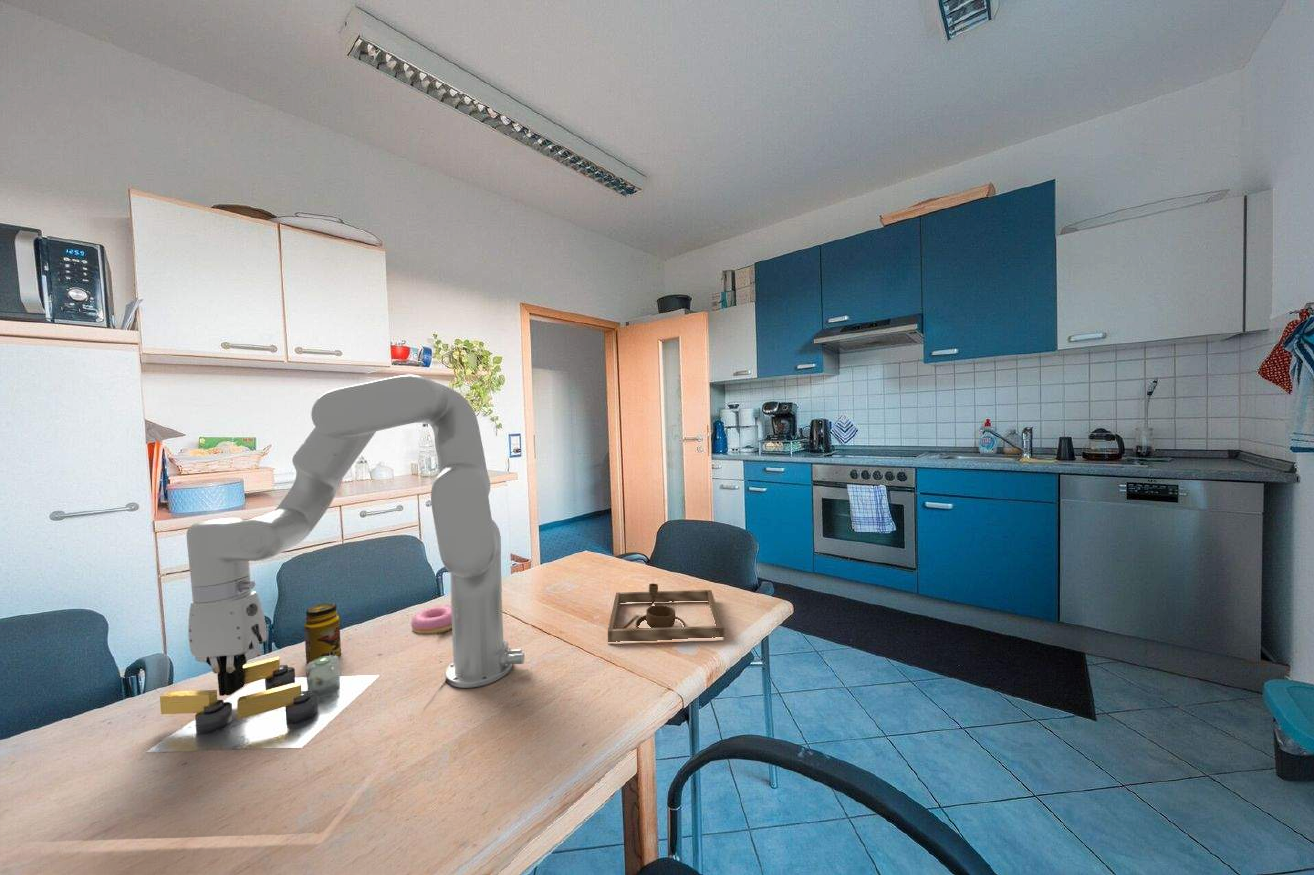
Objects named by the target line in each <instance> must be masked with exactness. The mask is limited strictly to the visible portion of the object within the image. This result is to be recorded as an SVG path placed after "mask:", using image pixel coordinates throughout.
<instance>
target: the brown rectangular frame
mask: <svg viewBox="0 0 1314 875" xmlns="http://www.w3.org/2000/svg"><path fill="white" fill-rule="evenodd" d="M714 597H715V596H714V594H713V591H712V590H711V589H695V590H691V589H690V590H689V589H688V590H663V591H659V590H658V593H657V595H655V598H654V599H655V602H669V601H672V602H674V601H708V602H709V603H708V602H707V603H708V606H709V605H710V607H709V609H710V608H711V610H710V612H711V611H712V613H711V615H712V614H713V617H714V620H715V623H714V625H708V626H707V625H705V626H704V625H702V626H699V625H698V626H685V627H682V626H676V627H675V626H672V627H665V628H636V627H633V628H624V629H622V628H616V629H615V626H616V627H617V623H616V621H617V622H618V618H617V616H619V612H618V610H619V611H620V607H619V605H620V603H626V602H651V599H652V595H650V594H649V591H629V592H628V591H625V592H621V591H620V592H615V595H614V601H613V605H612V610H611V615H610V620H609V623H608V627H607V628H608V629H607V643H608V642H616V641H617V642H620V641H657V640H672V639H688V638H712V637H713V638H715V637H724V638H725V626H724V624H723V621H722V617H721V615H720V612H719V609H718V606H717V603H716V599H715V598H714ZM620 606H621V605H620ZM713 617H712V618H713ZM714 620H713V621H714ZM715 624H716V626H715Z"/></svg>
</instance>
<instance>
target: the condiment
mask: <svg viewBox="0 0 1314 875" xmlns="http://www.w3.org/2000/svg"><path fill="white" fill-rule="evenodd" d="M337 610H338V609H337V605H336V604H335V603H332V602H327V603H326V602H325V603H320V604H317V605H316V604H315V605H313V606H311V607H309V608H308V609H307V610H306V612H305V615H306V617H305V620H306V621H305V623H304V627H303V628H304V629H303V630H304V645H305V662H306V665H307V664H309V663H310V662H312V661H313V660H316V659H318V658H320V657H323V656H338V657H339V658H340V657H342V647H341V645H342V643H341V627H340V625H341V624H340V616H339V615H338V611H337Z"/></svg>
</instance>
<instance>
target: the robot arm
mask: <svg viewBox="0 0 1314 875" xmlns="http://www.w3.org/2000/svg"><path fill="white" fill-rule="evenodd" d="M310 414H311V415H310V416H311V419H312V423H313V425H314V428H313V430H312V431H311V432H310V434H308V436H307V438H306V439H305V440H304V441H303V443H302V444H301V446H300V447H299V448H298V450H297V451H296V452H295V453H294V454H293V456H292V460H291V461H292V465H293V467H294V469H295V474H296V475H295V479H294V482H293V483H292V486H291V488H290V489H289V490H288V492H287V494H286V495H285V497H284V498H283V499H282V501H281V502H279V504H278V506H277V507H276V509H275V510H273V511H269V512H267V513H265V514H262V515H259V516H255V517H253V518H249V519H245V520H243V519H241V518H239V517H222V518H215V519H209V520H203V521H200V522H195V523H194V524H191V525H190V526H189V527H188V528H187V531H186V545H187V556H188V565H189V575H190V587H191V597H192V601H191V602H190V606H189V613H188V626H187V627H188V628H187V629H188V631H187V632H188V644H189V645H188V646H189V651H190V654H191V655H192V656H194V657H195V661H196V662H200V663H205V664H208V665H209V666H210V667H211V670H212V673H213V674H216V675H217V676H216V677H217V686H218V695H219V696H232V695H234V694H235V693H237V692H238V691H240V690H241V689H243V688H244V686H245V685H246V684H245V682H244V672H243V665H247V664H248V663H247V662H248V661H250V660H252V659H256V658H257V657H259V656H260V655H262V653H263V650H262V648H261V645H262V644H264V643H265V642H267V640H268V632H267V624H266V618H265V613H264V610H263V605H262V602H261V600H260V597H259V595H258V593H257V590H253V589H254V588H255V587H256V583H255V581H253V580H251V579H252V578H251V568H250V562H253V561H254V562H256V561H264V560H269V559H272V558H274V557H276V556H278V555H280V554H282V553H283V552H285V551H286V550H289V549H291V548H293V547H295V546H297V545H298V544H300V543H301V542H303V541H304V540H305V539H306V538H307V537H308V536H309V535H310V533H312V531H313V530H314V529H315V528H316V526H317V524H318V523H319V521H321V519H322V518H323V516H324V515H325V513H326V512H327V511H328V509H329V508H330V506H331V504H332V502H333V501H334V499H335V497H336V494H337V492H338V490H339V488H340V486H341V483H342V480H343V478H345V476H346V475H347V473H348V471H349V470H350V469H351V468H352V466H353V464H354V463H355V462H356V460H357V459H359V456H360V455H361V453H363V451H364V450H365V449H366V446H367V445H368V444H369V442H370V441H371V439H372V438H373V437H374V436H375V434H376V433H377V432H379V431H385V430H388V429H392V428H396V427H400V426H405V425H410V424H417V423H419V424H422V423H424V424H428V425H430V427H431V428H432V431H433V434H434V446H435V451H436V456H437V464H438V470H439V471H438V472H439V473H438V475H437V477H436V478H435V479H434V481H433V483H432V485H431V489H430V490H431V491H430V505H431V511H432V517H433V523H434V529H435V536H436V542H437V546H438V547H437V548H438V553H439V558H440V560H441V563H442V565H443V566H444V568H445V569H446V570H447V571H448V572H449V573H450V574H449V576H450V577H449V578H450V580H449V581H450V606H451V614H452V629H451V636H452V637H451V638H452V657H453V662H451V663H450V664H449V665H448V666H447V668H446V670H445V672H444V673H445V674H444V675H445V681H446V683H447V684H449V685H450V686H453V687H456V688H461V689H462V688H463V689H465V688H466V689H467V688H468V689H469V688H476V687H482V686H485V685H488V684H492V683H494V682H497V681H498V680H501V679H502V678H504V677H505V676H506V675H507V674H508V673H509V672H510V670H511V669H512V667H513V665H523V664H524V662H525V657H526V656H525V652H524V653H523V650H522V648H515V649H512V648H510V647H509V641H504V623H503V622H504V619H503V600H502V598H503V597H502V595H503V593H502V591H503V588H502V583H503V582H502V541H501V540H502V537H501V532H500V529H499V528H500V527H499V526H498V524H497V523H496V522H495V520H493V518H492V513H491V512H492V511H491V505H490V497H489V496H490V492H491V481H490V477H489V473H488V469H487V464H486V462H487V461H486V457H485V451H484V447H483V441H482V437H481V430H480V425H479V421H478V418H477V415H476V413H475V410H474V408H473V407H472V405H471V403H470V402H469V401H468V400H467V399H466V397H464V396H463V395H462V394H460V393H459V392H458V391H457V390H455V389H453V388H451V387H449V386H446V385H444V384H441V383H439V382H436V381H433V380H431V379H429V378H426V377H424V376H420V375H415V374H403V375H398V376H393V377H388V378H383V379H379V380H374V381H370V382H369V381H368V382H364V383H359V384H354V385H349V386H344V387H340V388H335V389H332V390H329V391H327V392H325V393H323V394H322V395H320V396H319V397H318V398H317V399H316V400H315V402H314V404H313V405H312V409H311V413H310Z"/></svg>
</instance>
